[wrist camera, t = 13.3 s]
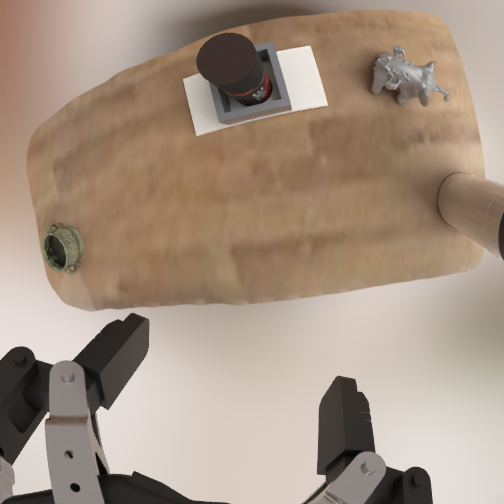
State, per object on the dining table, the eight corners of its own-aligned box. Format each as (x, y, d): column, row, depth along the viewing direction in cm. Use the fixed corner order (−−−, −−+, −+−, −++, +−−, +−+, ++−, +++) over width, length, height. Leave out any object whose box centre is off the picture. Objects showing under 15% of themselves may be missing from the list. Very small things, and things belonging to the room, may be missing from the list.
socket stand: (309, 47, 33) (310, 33, 27) (327, 106, 36) (331, 99, 30) (185, 80, 37) (169, 72, 32) (198, 136, 41) (183, 134, 35)
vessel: (52, 226, 52) (33, 235, 46) (71, 210, 50) (51, 218, 44) (74, 272, 55) (56, 284, 49) (95, 261, 53) (76, 273, 47)
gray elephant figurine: (365, 52, 32) (373, 35, 25) (434, 62, 29) (453, 50, 22) (371, 106, 35) (382, 98, 28) (440, 115, 32) (461, 111, 25)
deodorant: (244, 64, 34) (215, 25, 21) (279, 80, 35) (267, 45, 21) (225, 96, 37) (186, 72, 23) (260, 113, 37) (237, 94, 23)
